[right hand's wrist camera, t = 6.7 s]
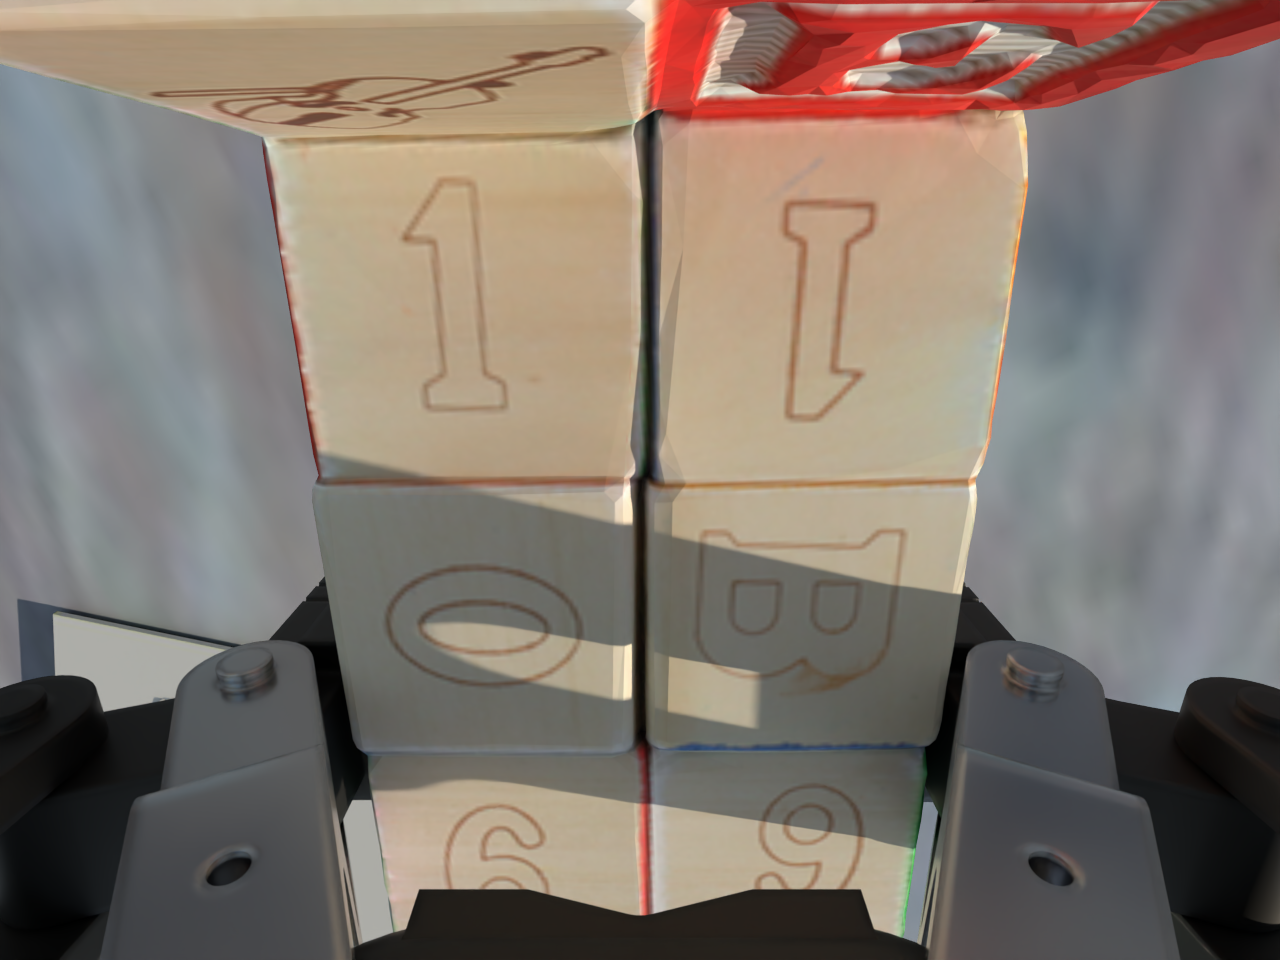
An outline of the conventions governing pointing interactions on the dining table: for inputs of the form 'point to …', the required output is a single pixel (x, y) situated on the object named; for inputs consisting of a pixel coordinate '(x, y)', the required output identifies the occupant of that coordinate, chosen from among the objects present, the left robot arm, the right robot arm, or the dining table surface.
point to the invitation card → (151, 672)
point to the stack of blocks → (641, 393)
